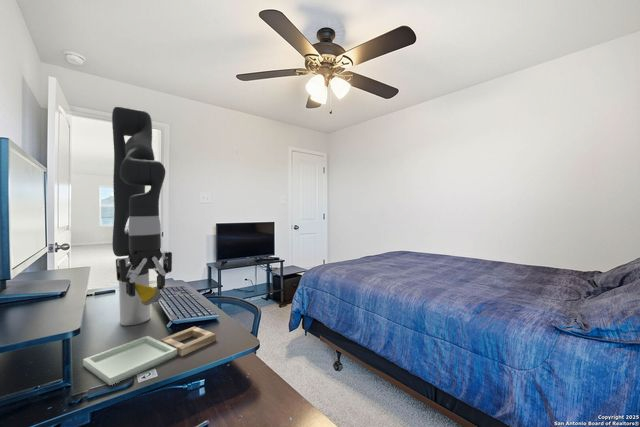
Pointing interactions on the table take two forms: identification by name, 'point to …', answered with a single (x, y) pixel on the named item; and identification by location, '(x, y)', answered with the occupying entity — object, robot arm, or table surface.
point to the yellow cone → (148, 294)
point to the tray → (129, 359)
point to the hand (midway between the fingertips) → (146, 292)
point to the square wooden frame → (184, 349)
